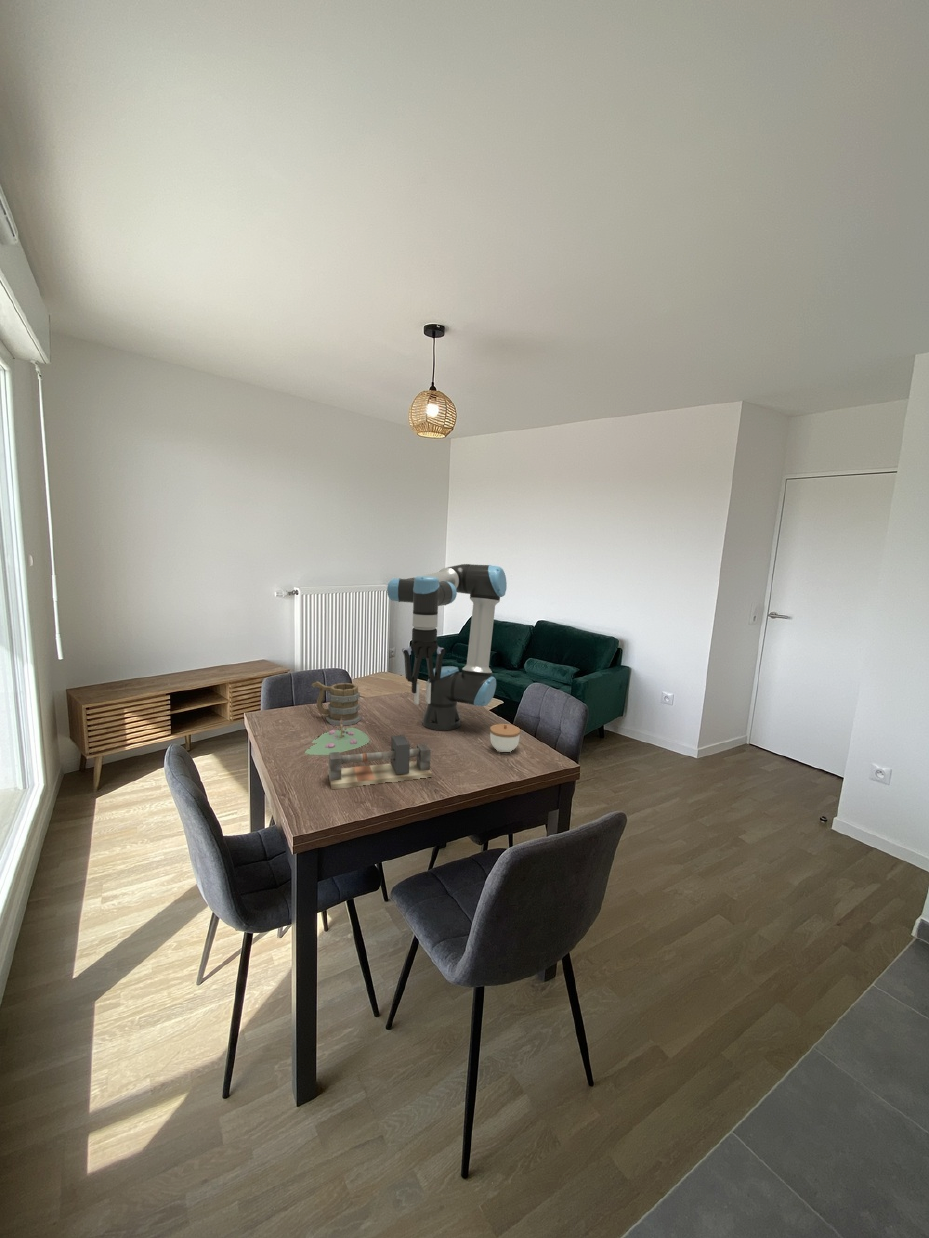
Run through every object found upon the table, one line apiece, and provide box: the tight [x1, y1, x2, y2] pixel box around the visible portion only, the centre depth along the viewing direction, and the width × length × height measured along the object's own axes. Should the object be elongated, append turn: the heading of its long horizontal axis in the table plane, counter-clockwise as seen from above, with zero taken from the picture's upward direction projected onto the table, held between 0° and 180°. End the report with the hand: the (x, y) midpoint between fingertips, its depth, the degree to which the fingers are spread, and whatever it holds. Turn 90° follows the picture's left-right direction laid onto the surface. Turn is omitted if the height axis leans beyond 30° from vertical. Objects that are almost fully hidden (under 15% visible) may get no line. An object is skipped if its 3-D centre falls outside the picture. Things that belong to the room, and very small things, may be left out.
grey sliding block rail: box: [328, 743, 433, 790], centre depth 155 cm, size 30×10×8 cm, turn 110°
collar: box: [390, 734, 411, 774], centre depth 156 cm, size 4×8×9 cm, turn 20°
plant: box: [304, 716, 371, 756], centre depth 179 cm, size 25×21×9 cm
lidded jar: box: [489, 723, 521, 753], centre depth 179 cm, size 11×11×9 cm
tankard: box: [311, 681, 362, 727], centre depth 203 cm, size 20×13×15 cm, turn 77°
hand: (422, 702), depth 156 cm, fingers open, 3 cm apart
